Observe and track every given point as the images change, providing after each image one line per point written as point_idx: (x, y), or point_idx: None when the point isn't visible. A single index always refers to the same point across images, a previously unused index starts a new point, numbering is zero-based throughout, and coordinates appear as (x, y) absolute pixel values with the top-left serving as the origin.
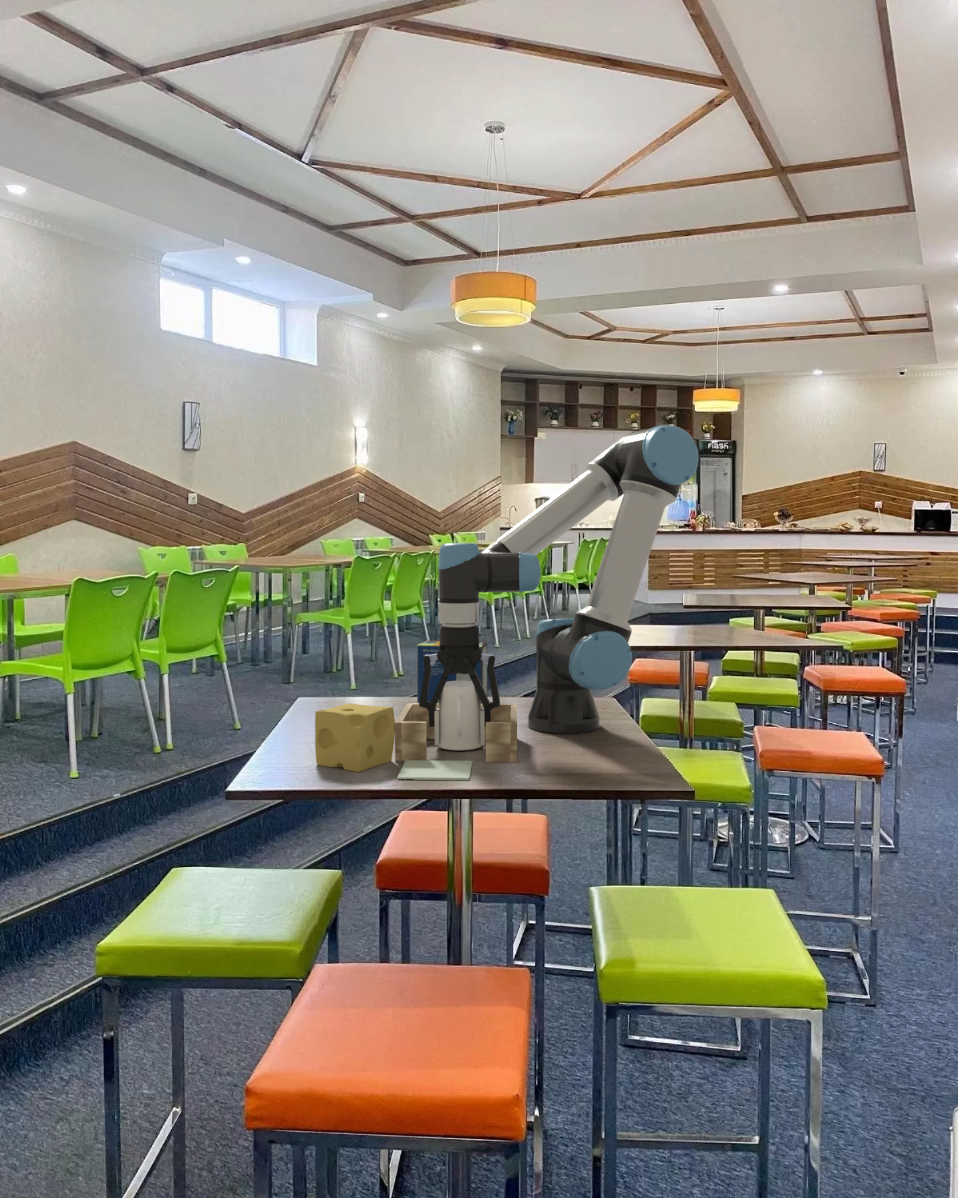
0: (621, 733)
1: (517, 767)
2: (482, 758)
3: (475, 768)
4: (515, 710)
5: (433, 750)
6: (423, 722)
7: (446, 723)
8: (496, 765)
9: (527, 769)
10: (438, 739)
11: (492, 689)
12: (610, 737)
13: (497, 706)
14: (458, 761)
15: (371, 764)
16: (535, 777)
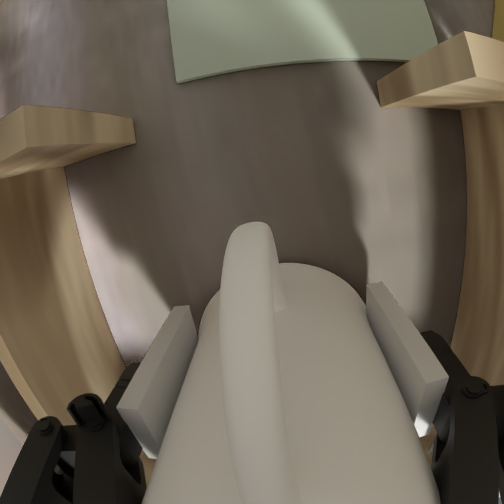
0: (18, 430)
1: (39, 89)
2: (156, 173)
3: (156, 20)
4: None
5: (380, 275)
6: (481, 44)
7: (356, 339)
8: (93, 84)
9: (19, 80)
10: (374, 294)
11: (24, 499)
12: (12, 411)
13: (47, 417)
14: (231, 56)
15: (498, 10)
16: (11, 21)
